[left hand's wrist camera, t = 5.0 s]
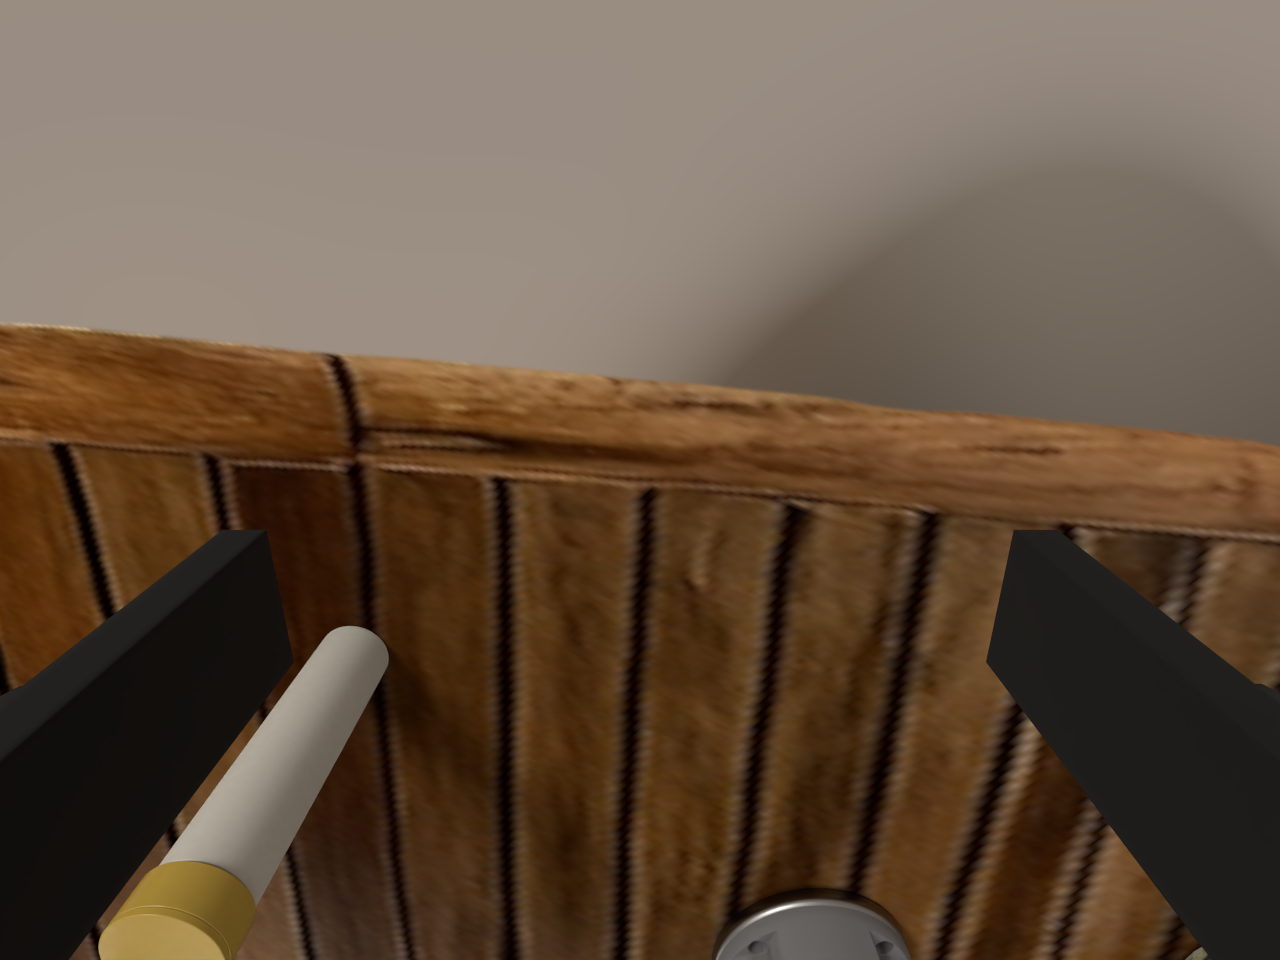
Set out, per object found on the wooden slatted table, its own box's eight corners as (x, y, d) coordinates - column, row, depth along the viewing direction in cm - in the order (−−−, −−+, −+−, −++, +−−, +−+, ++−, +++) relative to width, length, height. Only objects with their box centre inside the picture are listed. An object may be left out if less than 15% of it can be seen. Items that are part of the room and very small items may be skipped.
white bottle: (401, 649, 46) (245, 941, 28) (367, 693, 47) (195, 999, 29) (342, 613, 45) (140, 891, 27) (308, 658, 46) (93, 953, 28)
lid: (277, 896, 30) (247, 952, 28) (224, 958, 31) (192, 1016, 29) (169, 842, 29) (129, 896, 26) (119, 909, 30) (78, 965, 28)
